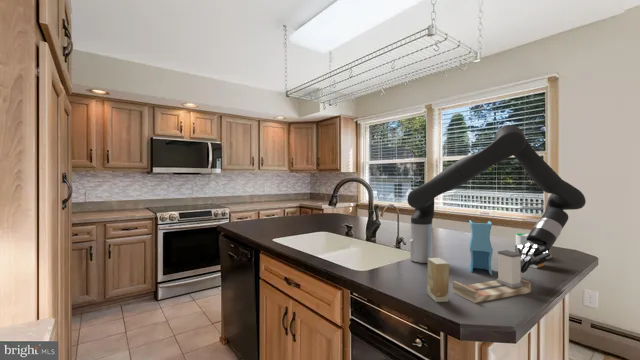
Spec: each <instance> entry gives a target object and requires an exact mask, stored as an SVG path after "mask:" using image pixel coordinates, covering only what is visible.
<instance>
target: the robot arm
mask: <svg viewBox="0 0 640 360" xmlns="http://www.w3.org/2000/svg"><path fill="white" fill-rule="evenodd" d="M511 157H514V158H515V159H516V160H517V161H518V162H519V164H520V165H521V166H522V168H523V169H524V170H525V171H526V173H527V174H528V176H529V177H530V178H531V179H532V181H533V182H534V183H535V184H536V185H537V186H538V188H540V189H541V190H542V191H543V192H544V193H546V194H551V195H550V196H548V199H547V203H546V207H545V211H544V212H543V214H542V215H541V216H540V219H538V220H537V222H536V223H535V224H534V226H533V227H532V228H531V231H529V235H528V236H527V240H526V241H525V242H524V243H523V244H522V245H520V246H518V245H516V244H515V245H513V247H514V252H516V253H519V254H521V273H522V274H524V273H526V272H527V271H528V269H529V268H530V267H529V266H531V265H536V266H537V265H539V264H542V263H544V264H545V263H546V262H548V261H551V260H553V259H554V257H553V256H552V254H551V253H550V250H551V249H552V248H553V245H554V244H555V243H556V241H557V239H558V238H559V236H560V235H561V233H562V230H563V228H564V227H565V226H566V224H567V222H568V220H569V215H568V213H567V212H566V211H567V210H570V211H571V210H572V211H573V210H580V209H582V208H584V207H585V205H586V202H587V201H586V197H585V195H584V194H583V192H582V191H581V190H580V189H578V188H577V187H575V186H574V185H572V184H570V183H569V182H567V181H565V180H563V179H562V178H561V176H559V175H558V173H557V172H556V171H555V170H554V169H553V168H552V167H551V166H550V165H549V164H548V163H547V162H546V161H545V160H544V159H543V158H542V157H541V156H540V155H539V154H538V153H537V151H536V150H535V149H534V148H533V146H532V145H531V144H530V143H529V141H528V140H527V138H526V136H525V133H524V132H523V130H522V129H521V128H519V127H518V126H515V125H512V124H509V125H503V126H501V127H500V128H499V129H498V130H497V131H496V133H495V136H494V141H492V142H491V143H490V144H488V145H487V146H486V147H485V148H483V149H481V150H479V151H478V152H475V153H473V154H469V155H468V156H464V157H462V158H460V159H458V160H456V161H455V162H454V163H452V164H450V165H449V166H447V167H446V168H445V169H443V170H442V171H441V172H439V173H438V174H437V175H435V176H434V177H433V178H432V179H430V180H428V181H426V182H425V183H423V184H422V185H420V186H417V187H416V188H413V189H412V190H411V191H410V192H409V193H408V195H407V203H408V206H410V207H411V208H412V209H414V213H413V214H412V215H411V217H410V261H411V262H415V263H420V264H428V258H433V220H434V216H435V198H436V197H438V196H441V194H445V193H448V192H450V191H452V190H454V189H457V188H459V187H460V186H463V185H464V184H466V183H468V182H469V181H472V180H473V179H475V178H476V177H477V176H479V175H481V174H482V173H484V172H485V171H486V170H488V169H490V168H492V167H493V166H495V165H497V164H499V163H500V162H503V161H505V160H506V159H508V158H511ZM538 260H539V261H538Z"/></svg>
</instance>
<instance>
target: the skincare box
mask: <svg viewBox="0 0 640 360" xmlns="http://www.w3.org/2000/svg"><path fill="white" fill-rule="evenodd" d="M449 275H450V263H449V262H447V261H446V260H444V259H442V258H440V257H432V258H428V263H427V277H426V278H427V281H426V282H427V283H426V284H427V287H426V288H427V289H426V293H427V296H429V298H431V299H432V300H433V301H434V303H435V302H436V303H441V302H446V303H447V302H449V289H450V288H449V286H450V285H449V283H450V282H449V280H450V277H449Z"/></svg>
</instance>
